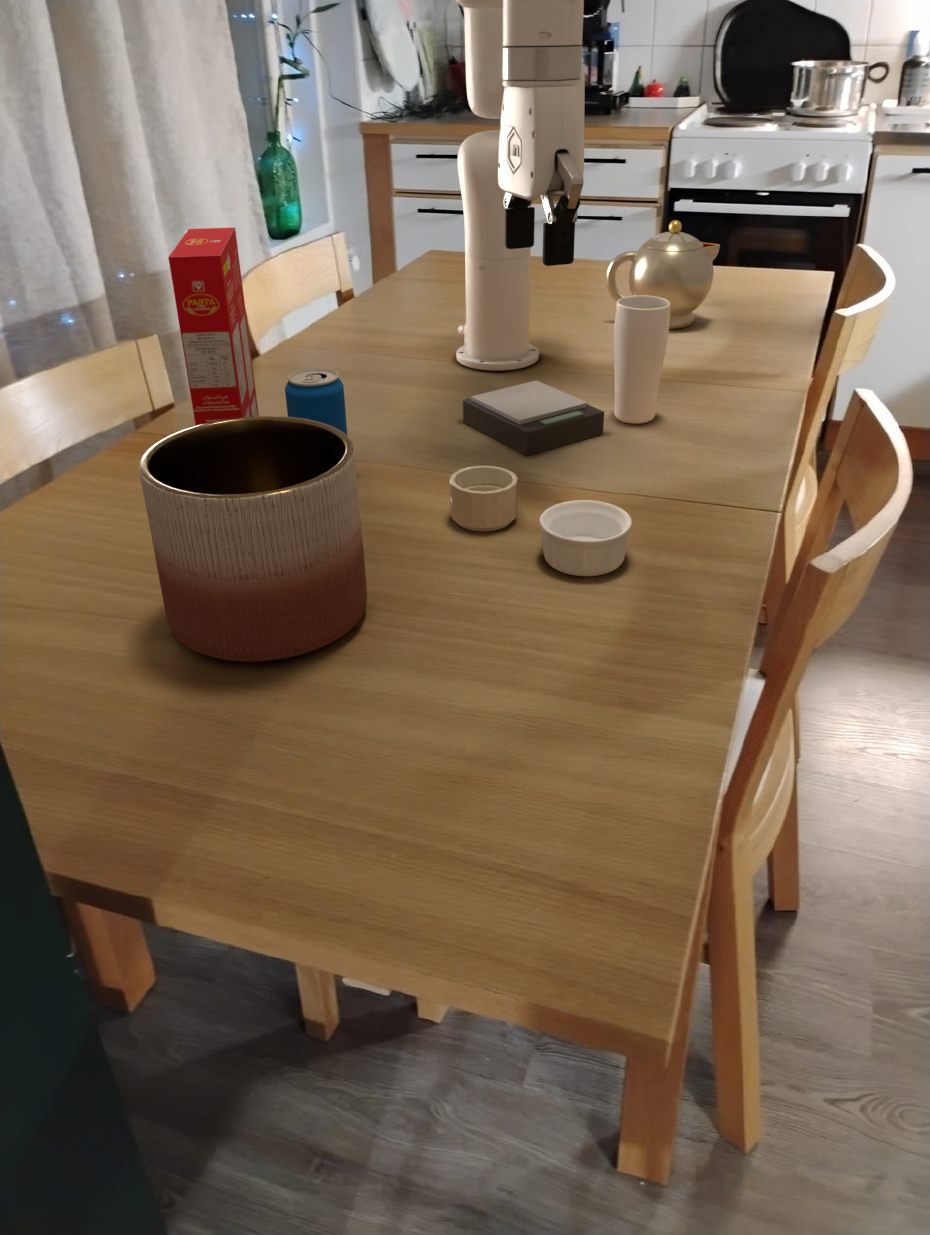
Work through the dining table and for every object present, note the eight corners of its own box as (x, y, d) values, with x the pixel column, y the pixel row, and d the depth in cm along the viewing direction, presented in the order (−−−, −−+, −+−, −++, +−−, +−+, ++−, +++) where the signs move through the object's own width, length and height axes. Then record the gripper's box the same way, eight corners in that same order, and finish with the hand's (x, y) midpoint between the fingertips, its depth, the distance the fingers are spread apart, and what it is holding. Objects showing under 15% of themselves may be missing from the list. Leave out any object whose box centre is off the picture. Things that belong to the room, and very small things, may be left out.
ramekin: (605, 589, 94) (607, 548, 92) (522, 566, 98) (523, 526, 96) (643, 551, 100) (646, 511, 98) (564, 530, 104) (565, 492, 102)
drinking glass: (659, 428, 128) (670, 310, 120) (606, 425, 129) (613, 308, 122) (661, 410, 134) (672, 296, 126) (610, 407, 135) (617, 294, 127)
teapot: (704, 312, 174) (715, 211, 166) (717, 334, 163) (730, 228, 154) (600, 312, 175) (606, 212, 167) (606, 334, 164) (612, 229, 155)
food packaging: (219, 433, 129) (188, 228, 116) (260, 432, 129) (235, 227, 116) (204, 481, 116) (168, 257, 103) (250, 478, 117) (220, 255, 104)
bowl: (438, 515, 108) (437, 475, 106) (491, 499, 111) (491, 460, 109) (475, 539, 103) (474, 498, 101) (529, 522, 106) (530, 482, 104)
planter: (387, 650, 86) (376, 481, 77) (174, 687, 82) (138, 512, 73) (348, 556, 100) (335, 404, 92) (165, 583, 96) (134, 427, 88)
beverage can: (359, 468, 119) (352, 369, 112) (336, 490, 114) (326, 388, 107) (310, 462, 121) (300, 364, 114) (284, 483, 115) (273, 382, 109)
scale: (463, 421, 131) (462, 395, 129) (536, 403, 137) (536, 377, 135) (527, 455, 121) (527, 427, 120) (603, 434, 127) (604, 407, 125)
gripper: (472, 67, 102) (474, 244, 110) (543, 72, 88) (539, 275, 96) (540, 65, 104) (537, 239, 113) (619, 70, 90) (608, 268, 99)
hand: (538, 255), depth 104 cm, fingers open, 9 cm apart
